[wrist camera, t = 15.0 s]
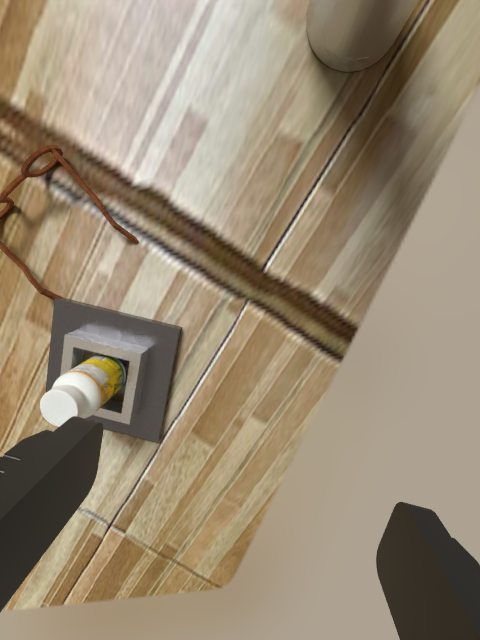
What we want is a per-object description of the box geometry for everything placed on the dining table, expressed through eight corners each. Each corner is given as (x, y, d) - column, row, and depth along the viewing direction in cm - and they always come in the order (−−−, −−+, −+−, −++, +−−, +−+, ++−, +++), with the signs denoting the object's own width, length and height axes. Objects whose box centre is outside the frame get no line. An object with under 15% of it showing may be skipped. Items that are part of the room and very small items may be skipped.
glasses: (68, 149, 36) (37, 133, 31) (140, 241, 38) (122, 239, 33) (-5, 222, 39) (-43, 218, 34) (66, 305, 40) (38, 313, 35)
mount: (59, 297, 40) (40, 301, 36) (181, 327, 39) (173, 334, 36) (48, 409, 43) (29, 422, 40) (160, 438, 43) (150, 454, 39)
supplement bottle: (104, 344, 39) (53, 372, 30) (136, 372, 40) (95, 409, 30) (79, 372, 40) (22, 407, 31) (110, 400, 41) (63, 443, 32)
